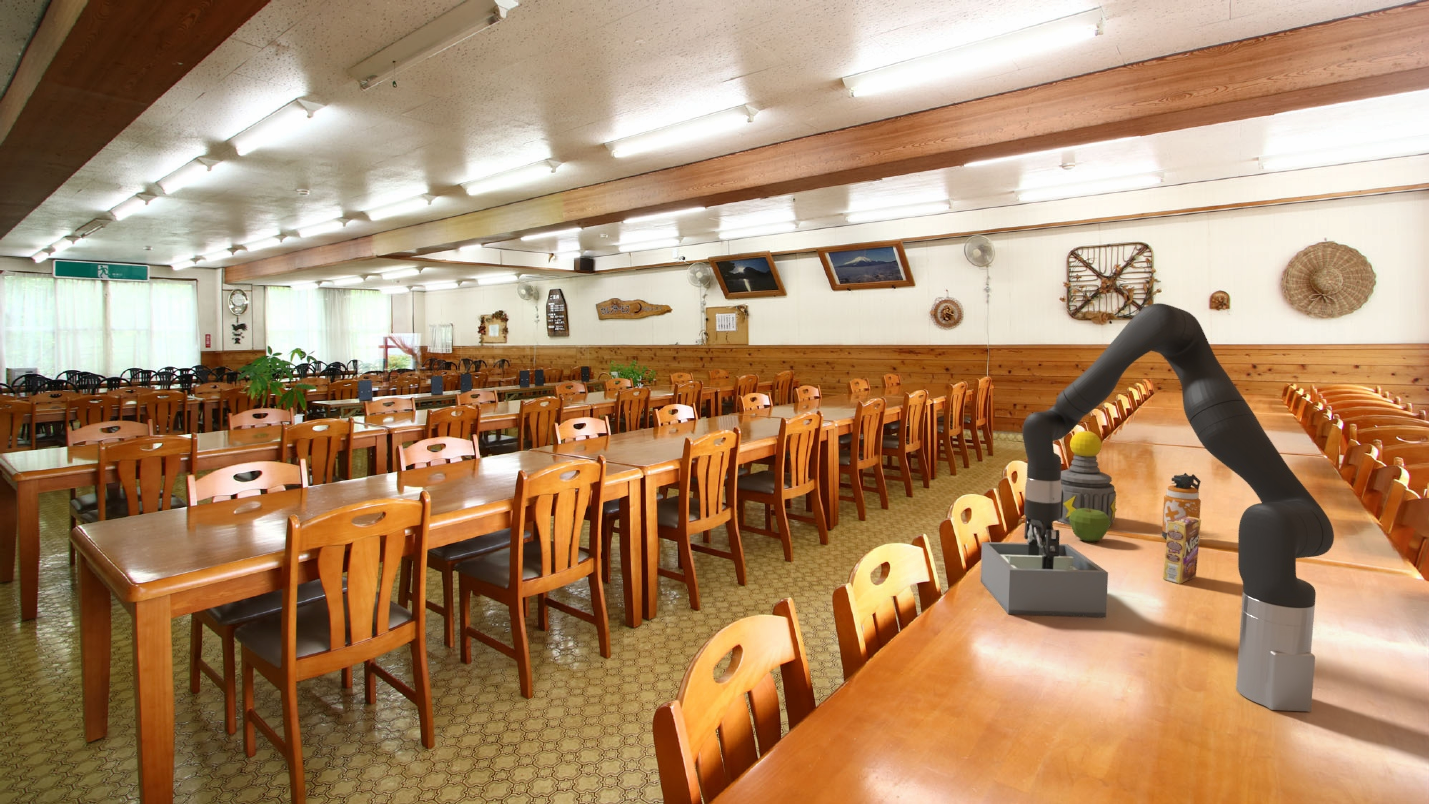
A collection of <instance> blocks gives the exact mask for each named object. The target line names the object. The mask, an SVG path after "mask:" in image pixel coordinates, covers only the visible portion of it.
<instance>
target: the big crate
mask: <svg viewBox="0 0 1429 804" xmlns="http://www.w3.org/2000/svg"><path fill="white" fill-rule="evenodd" d="M1028 545H1029V544H1028V543H1027V542H993V541H991V542H989V541H984V542H983V541H982V542H981V556H980V557H981V558H980V559H981V561H980V583H981V584H982V585H983V586H984V587H985V589H986V590H987V591H988V592H989V593H990V594H991V596H992V597H993V598H994V599H995V600H996V601H997V602H998V604H999V605H1000V607H1002V608H1003V610H1004V611H1005V612H1006V613H1007V615H1016V616H1017V615H1020V616H1045V617H1046V616H1048V617H1049V616H1052V617H1054V616H1055V617H1076V618H1077V617H1079V618H1080V617H1081V618H1082V617H1083V618H1106V617H1107V604H1108V603H1107V601H1108V599H1107V598H1108V582H1109V581H1108V580H1109V572H1108V571H1107V570H1105V569H1104V568H1102V567H1101V566H1100V565H1098V564H1097V563H1095V562H1094V561H1093V560H1091V559H1090V558H1088V557H1087V556H1086V555H1084V554H1082V553H1081V552H1080V551H1079V550H1077V549H1076V548H1074V547H1073V546H1071V545H1070V544H1069V543H1059V556H1072V557H1073V567H1075V568H1076V569H1077V570H1062V569H1024V568H1013V567H1012V566H1011V565H1010V564H1009V563H1008V562H1007V561H1006V560H1005V559H1004V558H1003V557H1002V556H1001V555H1028ZM1037 545H1038V544H1037ZM1045 549H1046V547H1045ZM1054 549H1055V546H1054ZM1050 551H1051V550H1050ZM1000 554H1001V555H1000ZM1039 555H1041V556H1043V555H1042V550H1041V548H1040V547H1039Z"/></svg>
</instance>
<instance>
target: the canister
mask: <svg viewBox="0 0 1429 804" xmlns="http://www.w3.org/2000/svg"><path fill="white" fill-rule="evenodd" d="M1201 481H1202V480H1201V479H1200V478H1198V477H1197V476H1196V475H1195V474H1191V475H1188V473H1186V472H1185V473H1184V474H1179V475H1178V474H1175V475H1174V476H1173V477H1171V482H1172V483H1171V485H1169V486H1168V487H1167V488H1166V495H1163V509H1162V511H1163V512H1162V529H1161V530H1162V532H1161V537H1163V538H1164V539H1166V540H1167V530H1168V521H1169V520H1173V519H1176V518H1179V517H1182V516H1188V517H1194V518H1198V519H1201V505H1202V504H1201V503H1202V501H1201V499H1200V498H1199V497H1200V496H1199V495H1200V492H1199V491H1200V490H1199V489H1200V485H1201ZM1196 483H1197V484H1196ZM1174 484H1175V485H1174Z"/></svg>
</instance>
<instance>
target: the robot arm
mask: <svg viewBox="0 0 1429 804" xmlns="http://www.w3.org/2000/svg"><path fill="white" fill-rule="evenodd" d="M1151 351H1152V352H1154V353H1158V354H1160V355H1161V356H1162V357H1163V358H1164V359H1165V360H1166V361H1167V363H1168V364H1169V365H1170V367H1171V369H1172V370H1173V371H1174V374H1175V375H1176V376H1177V378H1178V380H1179V382H1180V386H1181V391H1182V393H1181V394H1182V402H1183V403H1182V404H1183V406H1182V407H1183V410H1184V414H1185V416H1186V419H1187V421H1188V423H1189V425H1190V427H1191V428H1192V429H1193V431H1194V434H1195V435H1196V437H1197V439H1198V441H1199V442H1200V444H1201V445H1202V446H1203V447H1204V449H1206V451H1207V452H1208V453H1210V454H1211V456H1213V457H1214V458H1215V459H1216V460H1218V461H1219V462H1221V463H1222V464H1223V465H1224V466H1226V467H1227V468H1228V469H1230V470H1231V471H1232V472H1234V473H1235V474H1236V475H1238V476H1239V477H1240V478H1241V479H1243V481H1244V482H1245V483H1247V484H1248V485H1249V487H1250V488H1251V490H1253V491H1254V493H1255V495H1256V496H1257V498H1258V499H1259V500H1260V503H1254V504H1252V505H1250V506H1248V507H1247V508H1246V509H1245V510H1244V511H1243V513H1242V514H1241V518H1240V520H1239V524H1238V533H1237V535H1238V536H1237V538H1238V542H1237V544H1238V545H1237V546H1238V551H1237V552H1238V559H1237V561H1238V566H1237V567H1238V573H1239V576H1240V579H1241V582H1242V596H1241V609H1240V610H1241V612H1240V623H1239V625H1240V626H1239V639H1238V640H1239V641H1238V653H1237V669H1236V670H1237V671H1236V672H1237V673H1236V682H1235V683H1236V685H1235V687H1236V691H1237V692H1238V694H1240V695H1242V696H1243V697H1244V698H1246V699H1248V700H1250V701H1252V702H1254V703H1257V704H1260V705H1261V706H1264V707H1266V708H1267V709H1269V710H1271V711H1292V712H1294V711H1295V712H1311V711H1312V704H1313V703H1312V702H1313V689H1314V676H1315V664H1316V656H1315V655H1314V654H1313V653H1312V646H1313V645H1312V644H1313V633H1314V631H1313V630H1314V622H1315V621H1314V618H1315V607H1316V595H1317V593H1316V588H1315V587H1314V585H1312V584H1311V583H1309V582H1307V581H1306V580H1304V579H1301V578H1298V577H1297V564H1296V563H1297V559H1303V558H1314V557H1320V556H1322V555H1325V554H1326V553H1327V552H1329V551H1330V549H1331V548H1332V547H1333V544H1334V540H1335V533H1334V532H1335V531H1334V528H1333V525H1332V522H1331V521H1330V519H1329V516H1328V515H1327V514H1326V512H1325V511H1324V509H1323V508H1322V506H1321V505H1320V504H1319V503H1318V501H1317V500H1316V499H1315V498H1314V497H1313V495H1312V494H1311V493H1310V492H1309V491H1308V490H1307V488H1306V487H1305V486H1304V484H1303V483H1302V482H1301V481H1300V480H1299V479H1298V477H1297V475H1295V474H1294V472H1293V471H1292V469H1291V468H1290V467H1289V466H1288V464H1287V462H1286V461H1285V459H1284V458H1283V457H1282V455H1281V454H1280V452H1279V451H1278V449H1277V448H1276V446H1275V445H1274V443H1273V442H1272V440H1271V439H1270V438H1269V436H1268V435H1267V433H1266V432H1265V430H1264V428H1263V427H1262V425H1261V423H1260V421H1259V420H1258V418H1257V416H1256V415H1255V412H1254V411H1253V410H1252V409H1251V408H1250V407H1251V406H1250V405H1249V404H1248V402H1247V401H1246V400H1245V398H1244V397H1243V396H1242V394H1241V393H1240V391H1239V389H1238V388H1237V386H1236V385H1235V384H1234V382H1233V381H1232V379H1231V378H1230V376H1229V374H1228V373H1227V372H1226V371H1225V369H1224V368H1223V366H1222V365H1221V364H1220V362H1219V360H1218V359H1217V357H1216V355H1215V353H1214V351H1213V349H1212V346H1211V345H1210V343H1209V341H1208V339H1207V336H1206V334H1205V332H1204V329H1203V327H1202V325H1201V324H1200V322H1199V321H1198V319H1197V318H1196V316H1194V315H1193V314H1192V313H1190V312H1189V311H1187V310H1184V309H1181V308H1178V307H1175V306H1173V305H1170V304H1166V303H1161V302H1159V303H1156V302H1155V303H1151V304H1149V305H1147V306H1145V307H1143V308H1142V309H1140V310H1139V311H1138V312H1137V313H1135V315H1134V316H1133V317H1132V318H1131V319H1130V320H1129V321H1128V323H1127V324H1126V325H1125V326H1124V327H1123V329H1122V330H1120V332H1119V333H1118V335H1117V336H1116V337H1115V338H1114V340H1112V342H1111V343H1110V344H1109V345H1108V346H1107V347H1106V349H1105V350H1104V351H1103V352H1102V353H1101V355H1099V357H1098V358H1097V359H1095V361H1094V362H1093V363H1092V364H1091V365H1090V366H1089V367H1088V368H1087V369H1086V370H1085V371H1084V372H1083V373H1082V374H1080V376H1078V377H1077V378H1076V379H1075V380H1073V382H1071V383H1070V384H1069V385H1068V386H1067V387H1066V388H1064V389H1063V390H1061V392H1060V393H1059V394H1058V395H1057V397H1056V401H1055V402H1056V403H1054V404H1053V406H1051V407H1050V408H1049V409H1047V410H1045V411H1043V410H1042V411H1036V412H1032V413H1030V414H1029V415H1027V416H1026V418H1025V419H1024V423H1023V425H1022V440H1023V444H1024V445H1023V446H1024V449H1025V453H1026V458H1027V464H1026V466H1027V467H1026V481H1025V487H1024V488H1025V489H1024V508H1023V509H1024V510H1023V511H1024V514H1023V515H1024V516H1025V523H1024V534H1023V535H1024V537H1023V538H1024V539H1025V540H1026V543H1028V544H1029V545H1028V555H1033V556H1039V547H1040V548H1041V550H1042V555H1043V556H1042V569H1053V564H1054V557H1059V544H1060V530H1059V529H1054V527H1053V526H1054V525H1053V523H1054V522H1058V521H1057V520H1059V519H1060V516H1061V493H1062V488H1061V471H1062V458H1061V456H1060V455H1059V454H1058V453H1055V449H1054V442H1056V441H1059V440H1062V439H1063V438H1065V436H1067V435H1069V434H1070V433H1071V432H1072V431H1073V430H1074V429H1075V428H1076V426H1077V425H1078V424H1079V423H1080V422H1081V420H1082V419H1083V418H1084V417H1085V416H1087V415H1088V414H1090V413H1091V412H1092V411H1093V410H1095V409H1096V408H1098V406H1099V405H1101V404H1102V403H1104V401H1105V400H1107V398H1108V397H1109V396H1110V395H1111V394H1112V392H1114V389H1115V388H1116V386H1117V384H1118V383H1119V381H1120V379H1121V377H1122V375H1123V374H1124V372H1125V371H1126V370H1127V369H1128V368H1129V367H1130V366H1131V365H1132V364H1133V363H1135V362H1136V361H1137V360H1139V359H1140V358H1141V357H1143V356H1145V355H1146V354H1148V353H1150V352H1151ZM1037 544H1038V545H1037ZM1054 546H1055V549H1054ZM1045 547H1046V549H1045ZM1050 550H1051V551H1050Z"/></svg>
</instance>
